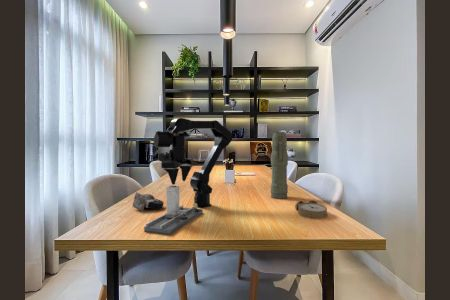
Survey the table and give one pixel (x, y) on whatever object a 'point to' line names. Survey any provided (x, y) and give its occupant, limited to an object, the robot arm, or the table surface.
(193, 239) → the table surface
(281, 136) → the thermos
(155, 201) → the caster wheel
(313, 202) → the alarm clock
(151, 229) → the rail
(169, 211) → the block
